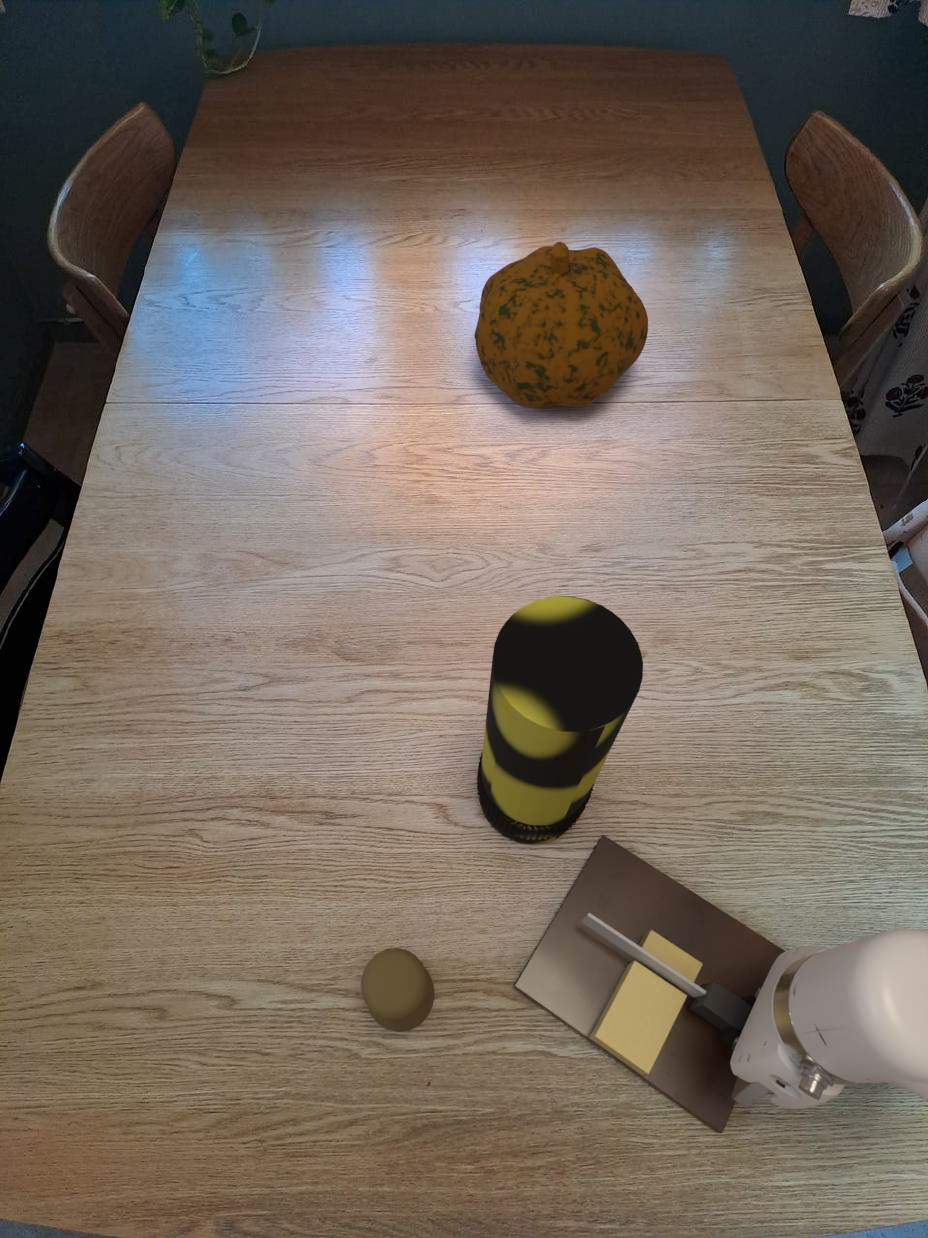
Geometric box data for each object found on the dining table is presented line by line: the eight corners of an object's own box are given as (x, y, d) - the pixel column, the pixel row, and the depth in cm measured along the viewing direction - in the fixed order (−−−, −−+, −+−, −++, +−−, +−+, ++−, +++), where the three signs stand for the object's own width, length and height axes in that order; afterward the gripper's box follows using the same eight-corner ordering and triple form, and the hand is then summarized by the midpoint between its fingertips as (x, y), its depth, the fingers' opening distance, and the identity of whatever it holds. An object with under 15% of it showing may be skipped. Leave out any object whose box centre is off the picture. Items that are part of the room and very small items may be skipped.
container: (590, 752, 85) (653, 606, 59) (577, 857, 80) (640, 749, 54) (485, 733, 86) (502, 581, 60) (466, 836, 81) (475, 719, 55)
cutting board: (792, 961, 76) (798, 959, 75) (716, 1133, 70) (721, 1134, 68) (600, 838, 81) (602, 834, 80) (512, 987, 75) (514, 986, 73)
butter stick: (678, 999, 73) (687, 995, 70) (640, 1075, 70) (648, 1074, 67) (627, 964, 74) (634, 960, 72) (589, 1038, 71) (594, 1036, 69)
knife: (798, 1050, 69) (817, 1049, 66) (787, 1076, 68) (806, 1076, 65) (588, 909, 74) (595, 901, 71) (575, 931, 73) (582, 924, 70)
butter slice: (693, 968, 74) (703, 963, 71) (683, 988, 73) (693, 984, 71) (643, 935, 76) (651, 929, 73) (633, 954, 75) (640, 949, 72)
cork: (375, 1041, 72) (363, 1035, 63) (359, 969, 75) (346, 952, 66) (442, 1019, 73) (441, 1010, 64) (424, 949, 76) (420, 929, 66)
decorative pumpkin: (643, 435, 105) (664, 299, 88) (475, 435, 107) (464, 302, 90) (636, 327, 115) (654, 187, 98) (484, 329, 117) (476, 191, 100)
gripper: (846, 1180, 49) (745, 1154, 65) (934, 940, 56) (823, 970, 72) (730, 1098, 51) (660, 1093, 67) (828, 875, 58) (743, 919, 74)
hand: (745, 1029), depth 70 cm, fingers closed on knife, 2 cm apart
